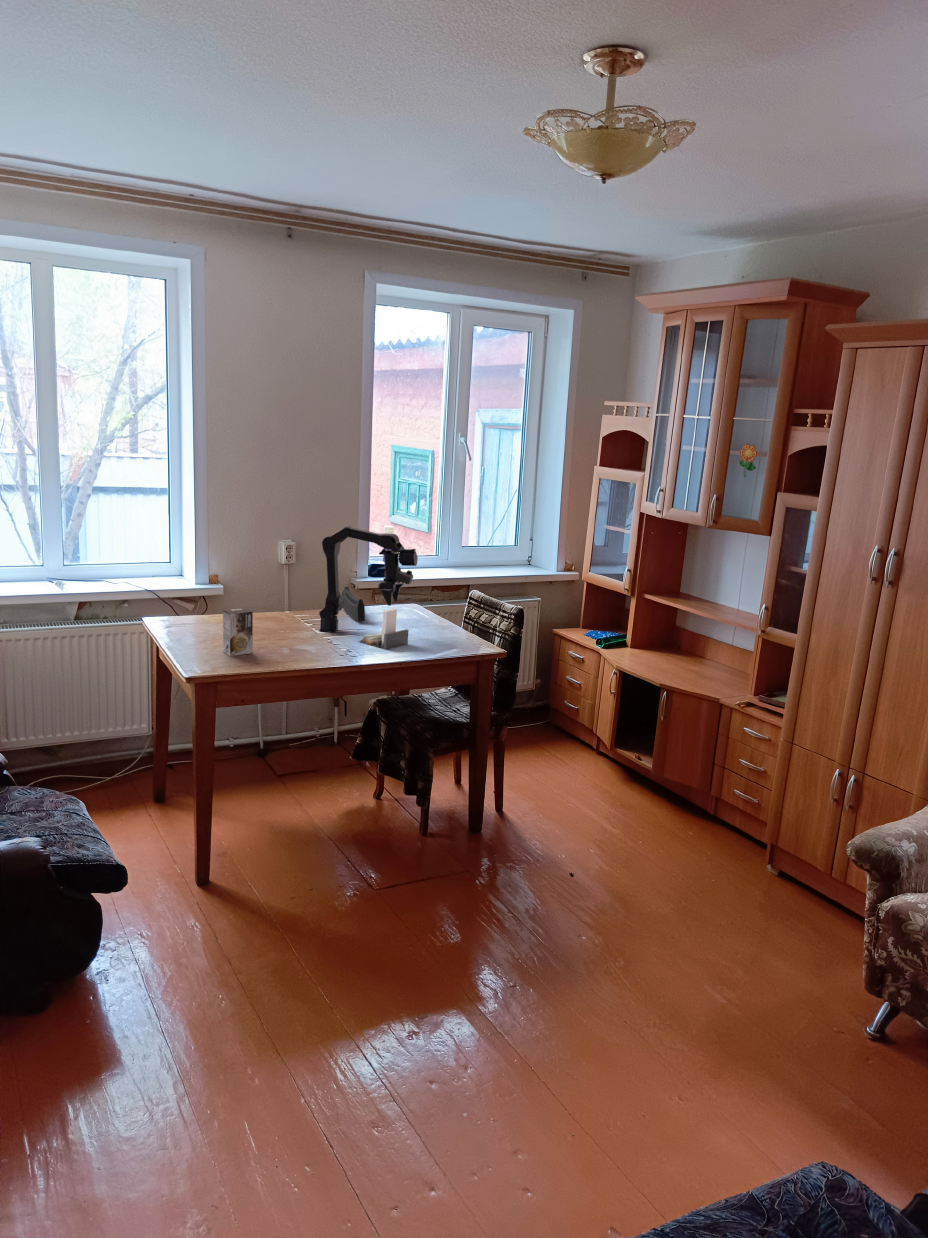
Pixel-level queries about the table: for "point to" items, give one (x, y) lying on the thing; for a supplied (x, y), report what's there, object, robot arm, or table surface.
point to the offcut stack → (371, 639)
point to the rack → (392, 640)
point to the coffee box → (237, 631)
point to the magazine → (353, 606)
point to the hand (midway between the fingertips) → (392, 603)
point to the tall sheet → (388, 622)
